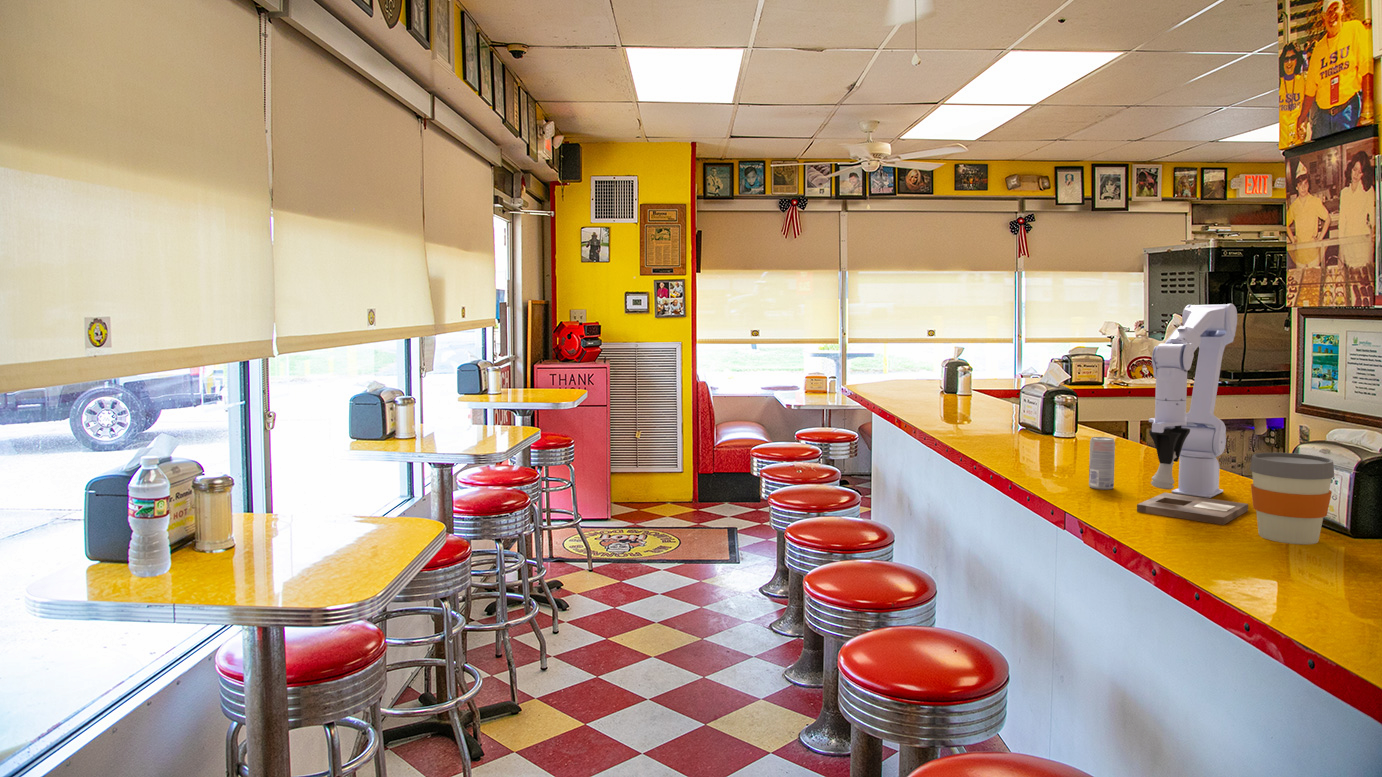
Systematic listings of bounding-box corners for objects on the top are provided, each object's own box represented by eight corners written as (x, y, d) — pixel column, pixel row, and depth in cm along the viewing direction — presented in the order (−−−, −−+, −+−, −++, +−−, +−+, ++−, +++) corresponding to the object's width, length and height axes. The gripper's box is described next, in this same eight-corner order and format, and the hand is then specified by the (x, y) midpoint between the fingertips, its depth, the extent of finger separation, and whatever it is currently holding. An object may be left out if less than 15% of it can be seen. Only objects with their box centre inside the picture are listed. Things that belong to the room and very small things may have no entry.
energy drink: (1108, 485, 198) (1109, 436, 197) (1117, 489, 193) (1118, 440, 192) (1085, 485, 198) (1086, 436, 197) (1094, 489, 193) (1095, 440, 192)
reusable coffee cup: (1255, 525, 159) (1258, 450, 158) (1336, 536, 150) (1340, 457, 149) (1240, 538, 150) (1243, 458, 149) (1325, 551, 141) (1329, 466, 140)
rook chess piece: (1170, 485, 177) (1177, 450, 175) (1176, 491, 172) (1183, 455, 171) (1147, 482, 178) (1154, 447, 176) (1153, 487, 174) (1160, 452, 172)
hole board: (1164, 499, 182) (1164, 491, 182) (1247, 510, 170) (1248, 502, 170) (1136, 511, 172) (1137, 503, 172) (1223, 524, 160) (1223, 516, 160)
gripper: (1163, 395, 180) (1161, 455, 181) (1137, 401, 171) (1135, 464, 172) (1198, 397, 175) (1196, 459, 176) (1173, 403, 166) (1171, 468, 167)
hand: (1168, 462), depth 174 cm, fingers closed on rook chess piece, 3 cm apart
